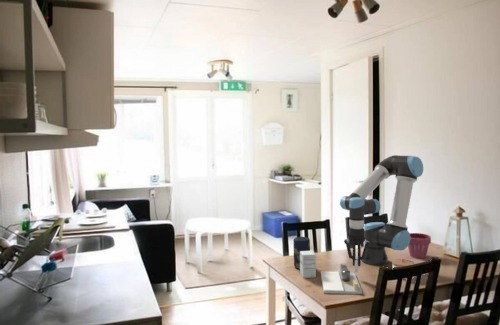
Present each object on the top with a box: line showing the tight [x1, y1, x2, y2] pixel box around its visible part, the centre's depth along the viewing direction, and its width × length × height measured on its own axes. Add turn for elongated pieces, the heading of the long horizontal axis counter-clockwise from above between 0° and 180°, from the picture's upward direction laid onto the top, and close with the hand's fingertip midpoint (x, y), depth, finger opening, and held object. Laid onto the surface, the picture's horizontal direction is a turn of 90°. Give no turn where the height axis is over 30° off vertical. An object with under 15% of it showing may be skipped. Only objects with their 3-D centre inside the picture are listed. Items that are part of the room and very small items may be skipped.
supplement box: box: [299, 250, 317, 279], centre depth 216 cm, size 7×7×13 cm
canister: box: [293, 236, 311, 270], centre depth 229 cm, size 10×10×18 cm
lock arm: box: [339, 263, 351, 281], centre depth 208 cm, size 14×4×5 cm, turn 173°
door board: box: [320, 270, 363, 295], centre depth 203 cm, size 18×26×4 cm
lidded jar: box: [391, 258, 415, 269], centre depth 211 cm, size 11×11×9 cm
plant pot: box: [407, 232, 432, 259], centre depth 244 cm, size 14×14×13 cm
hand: (356, 271), depth 208 cm, fingers closed
